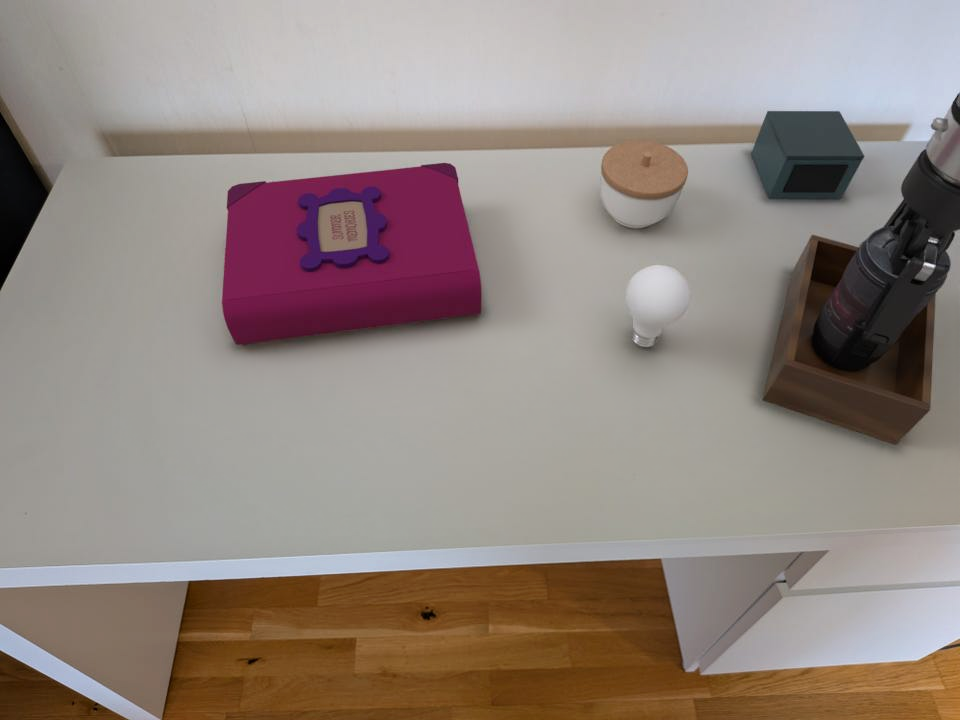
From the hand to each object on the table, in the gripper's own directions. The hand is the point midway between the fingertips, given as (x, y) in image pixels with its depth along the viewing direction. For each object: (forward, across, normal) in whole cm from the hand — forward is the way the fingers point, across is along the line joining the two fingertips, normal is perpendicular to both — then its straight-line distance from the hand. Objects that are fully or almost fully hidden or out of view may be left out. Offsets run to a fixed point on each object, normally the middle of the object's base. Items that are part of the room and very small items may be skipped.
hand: (849, 335), depth 75 cm
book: (+3, +12, -56) cm, 58 cm away
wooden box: (+3, 0, 0) cm, 3 cm away
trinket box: (+3, -13, -28) cm, 31 cm away
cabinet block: (+3, -30, -9) cm, 32 cm away
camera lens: (+2, 0, 0) cm, 2 cm away
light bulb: (+3, +8, -21) cm, 22 cm away
